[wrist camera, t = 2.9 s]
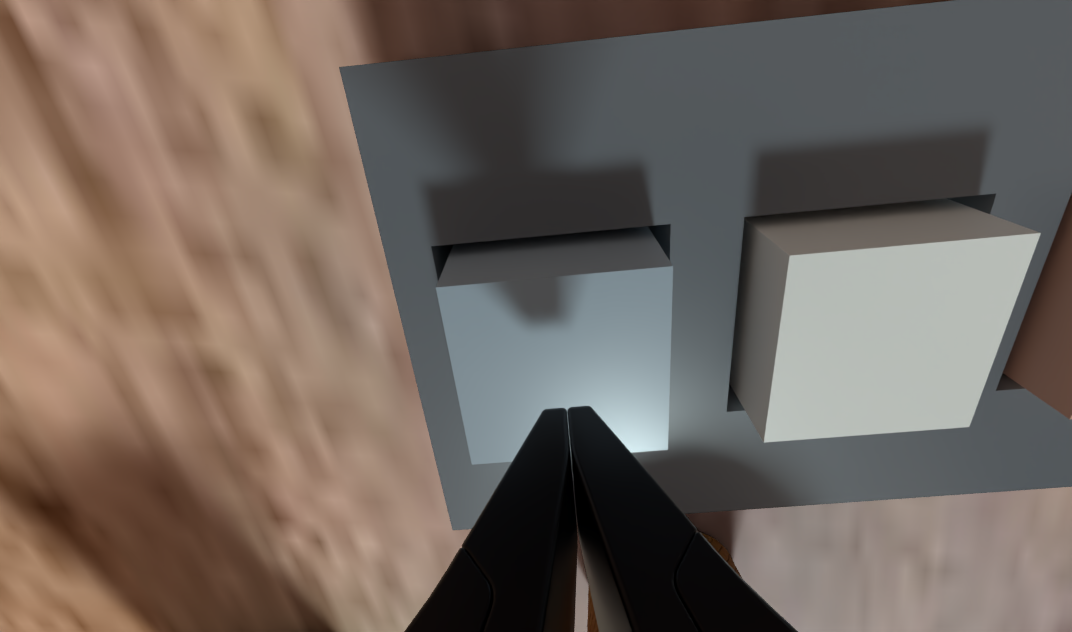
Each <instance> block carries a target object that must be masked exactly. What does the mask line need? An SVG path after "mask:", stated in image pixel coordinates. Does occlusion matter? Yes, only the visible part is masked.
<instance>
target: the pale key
mask: <svg viewBox="0 0 1072 632" xmlns="http://www.w3.org/2000/svg"><path fill="white" fill-rule="evenodd" d="M1040 234H1041V233H1040V232H1037V231H1034V230H1031V229H1029V228H1026V227H1023V226H1020V225H1018V224H1015V223H1012V222H1010V221H1007V220H1004V219H1001V218H999V217H996V216H993V215H990V214H988V213H985V212H982V211H979V210H977V209H974V208H971V207H968V206H966V205H963V204H960V203H957V202H955V201H952V200H949V199H947V198H943V199H932V200H922V201H911V202H900V203H890V204H879V205H868V206H857V207H847V208H836V209H825V210H815V211H804V212H793V213H783V214H772V215H761V216H750V217H744V228H743V238H742V249H741V260H740V271H739V282H738V293H737V303H736V314H735V325H734V336H733V347H732V358H731V368H730V379H729V384H730V385H731V387H732V389H733V391H734V392H735V394H736V396H737V397H738V399H739V401H740V403H741V404H742V406H743V408H744V410H745V411H746V413H747V415H748V416H749V418H750V420H751V422H752V423H753V425H754V427H755V428H756V430H757V432H758V434H759V435H760V437H761V439H762V440H763V442H764V443H765V442H778V441H791V440H805V439H818V438H831V437H844V436H857V435H871V434H884V433H897V432H910V431H923V430H937V429H950V428H963V427H969V426H970V424H971V421H972V418H973V416H974V413H975V410H976V407H977V405H978V402H979V399H980V397H981V394H982V391H983V389H984V386H985V383H986V380H987V378H988V375H989V372H990V370H991V367H992V364H993V361H994V359H995V356H996V353H997V351H998V348H999V345H1000V343H1001V340H1002V337H1003V334H1004V332H1005V329H1006V326H1007V324H1008V321H1009V318H1010V315H1011V313H1012V310H1013V307H1014V305H1015V302H1016V299H1017V296H1018V294H1019V291H1020V288H1021V286H1022V283H1023V280H1024V278H1025V275H1026V272H1027V269H1028V267H1029V264H1030V261H1031V259H1032V256H1033V253H1034V250H1035V248H1036V245H1037V242H1038V240H1039V237H1040Z"/></svg>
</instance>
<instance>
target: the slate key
mask: <svg viewBox="0 0 1072 632" xmlns="http://www.w3.org/2000/svg"><path fill="white" fill-rule="evenodd" d="M672 289H673V265H672V264H671V262H670V260H669V259H668V257H667V256H666V254H665V253H664V251H663V249H662V248H661V246H660V245H659V243H658V242H657V240H656V238H655V237H654V235H653V234H652V232H651V231H650V229H649V228H648V226H644V227H633V228H622V229H611V230H601V231H590V232H579V233H569V234H558V235H547V236H537V237H526V238H515V239H505V240H494V241H483V242H472V243H462V244H453V247H452V249H451V251H450V254H449V256H448V259H447V261H446V264H445V266H444V269H443V271H442V273H441V276H440V278H439V281H438V283H437V286H436V291H437V296H438V301H439V306H440V311H441V316H442V321H443V326H444V331H445V335H446V340H447V345H448V350H449V355H450V360H451V365H452V370H453V375H454V380H455V385H456V389H457V394H458V399H459V404H460V409H461V414H462V419H463V424H464V429H465V434H466V439H467V443H468V448H469V453H470V458H471V463H472V465H474V464H488V463H501V462H512V461H513V459H514V458H515V456H516V454H517V453H518V451H519V449H520V448H521V446H522V444H523V443H524V441H525V439H526V438H527V436H528V434H529V433H530V431H531V429H532V428H533V426H534V424H535V423H536V421H537V419H538V418H539V416H540V414H541V413H542V411H543V410H545V409H552V408H565V409H566V410H568V408H570V407H577V406H590V407H592V408H593V409H594V411H595V412H596V413H597V414H598V415H599V416H600V417H601V419H602V420H603V421H604V422H605V423H606V424H607V426H608V427H609V428H610V429H611V430H612V431H613V432H614V434H615V435H616V436H617V437H618V438H619V439H620V441H621V442H622V443H623V444H624V445H625V446H626V447H627V449H628V450H629V451H630V452H631V453H633V452H646V451H659V450H668V431H669V396H670V360H671V325H672ZM567 417H568V414H567ZM568 429H569V426H568ZM569 440H570V437H569ZM570 451H571V449H570Z"/></svg>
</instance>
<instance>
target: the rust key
mask: <svg viewBox="0 0 1072 632" xmlns="http://www.w3.org/2000/svg"><path fill="white" fill-rule="evenodd" d="M1003 374H1005V375H1006V376H1008V377H1009V378H1011V379H1012V380H1014V381H1015V382H1016V383H1018V384H1019V385H1021V386H1022V387H1024V388H1025V389H1027V390H1028V391H1029V392H1031V393H1032V394H1034V395H1035V396H1037V397H1038V398H1040V399H1041V400H1042V401H1044V402H1045V403H1047V404H1048V405H1050V406H1051V407H1053V408H1054V409H1055V410H1057V411H1058V412H1060V413H1061V414H1063V415H1064V416H1065V417H1067V418H1068V419H1072V193H1071V196H1070V198H1069V201H1068V204H1067V206H1066V209H1065V211H1064V214H1063V217H1062V219H1061V222H1060V224H1059V227H1058V230H1057V232H1056V235H1055V237H1054V240H1053V243H1052V245H1051V248H1050V250H1049V253H1048V256H1047V258H1046V261H1045V263H1044V266H1043V269H1042V271H1041V274H1040V277H1039V279H1038V282H1037V284H1036V287H1035V290H1034V292H1033V295H1032V297H1031V300H1030V303H1029V305H1028V308H1027V310H1026V313H1025V316H1024V318H1023V321H1022V323H1021V326H1020V329H1019V331H1018V334H1017V336H1016V339H1015V342H1014V344H1013V347H1012V350H1011V352H1010V355H1009V357H1008V360H1007V363H1006V365H1005V368H1004V370H1003Z"/></svg>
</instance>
